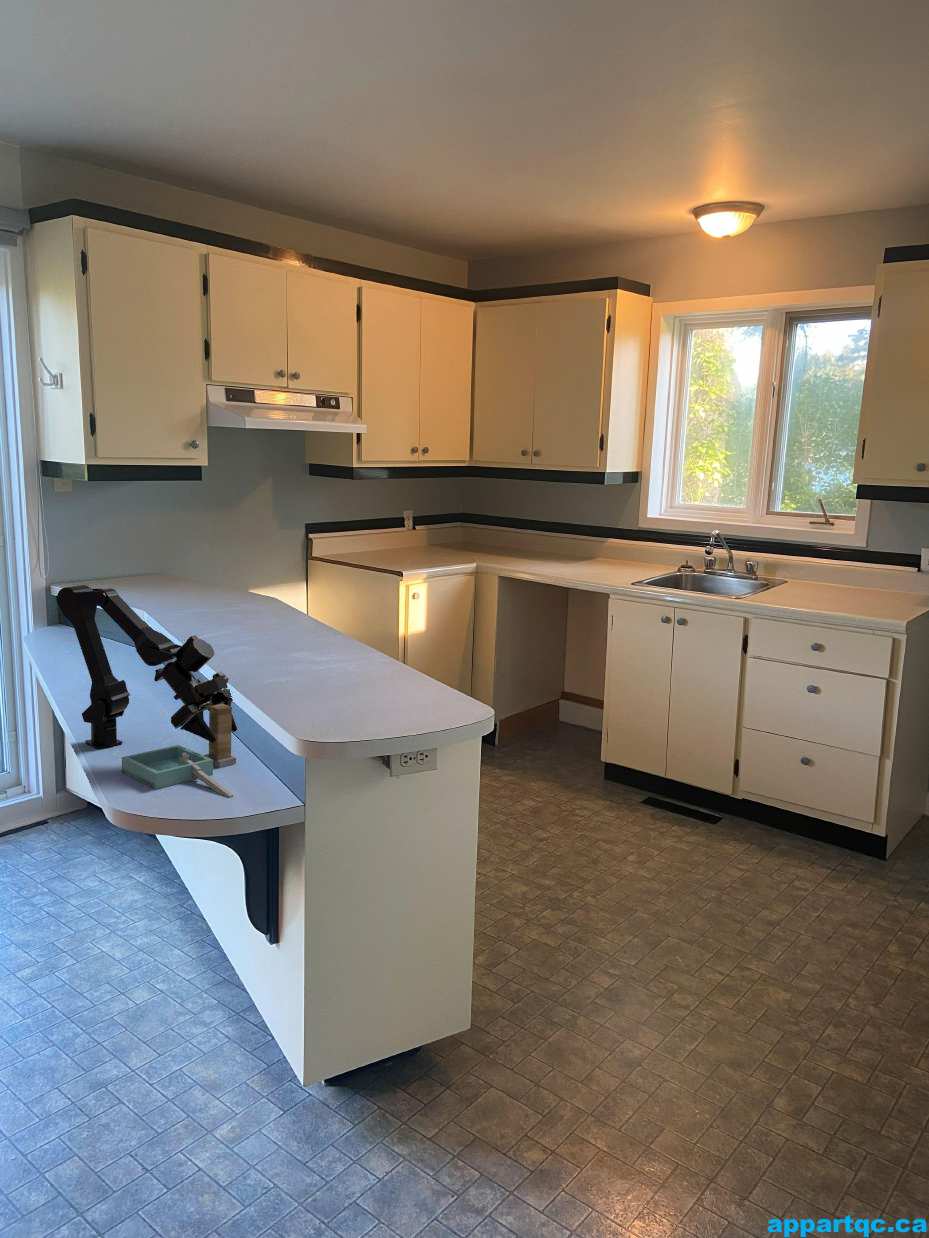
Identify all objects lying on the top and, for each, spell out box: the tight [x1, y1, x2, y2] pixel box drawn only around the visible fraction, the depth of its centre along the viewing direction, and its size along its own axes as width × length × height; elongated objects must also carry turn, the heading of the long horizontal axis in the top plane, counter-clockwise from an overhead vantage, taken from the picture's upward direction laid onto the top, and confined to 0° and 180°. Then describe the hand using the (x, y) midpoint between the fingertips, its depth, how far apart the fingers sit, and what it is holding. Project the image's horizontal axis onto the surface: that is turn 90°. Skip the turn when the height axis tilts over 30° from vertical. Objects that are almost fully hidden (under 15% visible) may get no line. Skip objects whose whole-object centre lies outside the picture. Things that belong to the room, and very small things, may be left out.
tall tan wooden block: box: [203, 704, 237, 769], centre depth 206 cm, size 6×4×14 cm
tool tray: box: [121, 744, 214, 790], centre depth 197 cm, size 14×14×4 cm
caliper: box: [179, 752, 235, 799], centre depth 191 cm, size 20×1×6 cm, turn 50°
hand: (225, 736), depth 205 cm, fingers open, 9 cm apart
